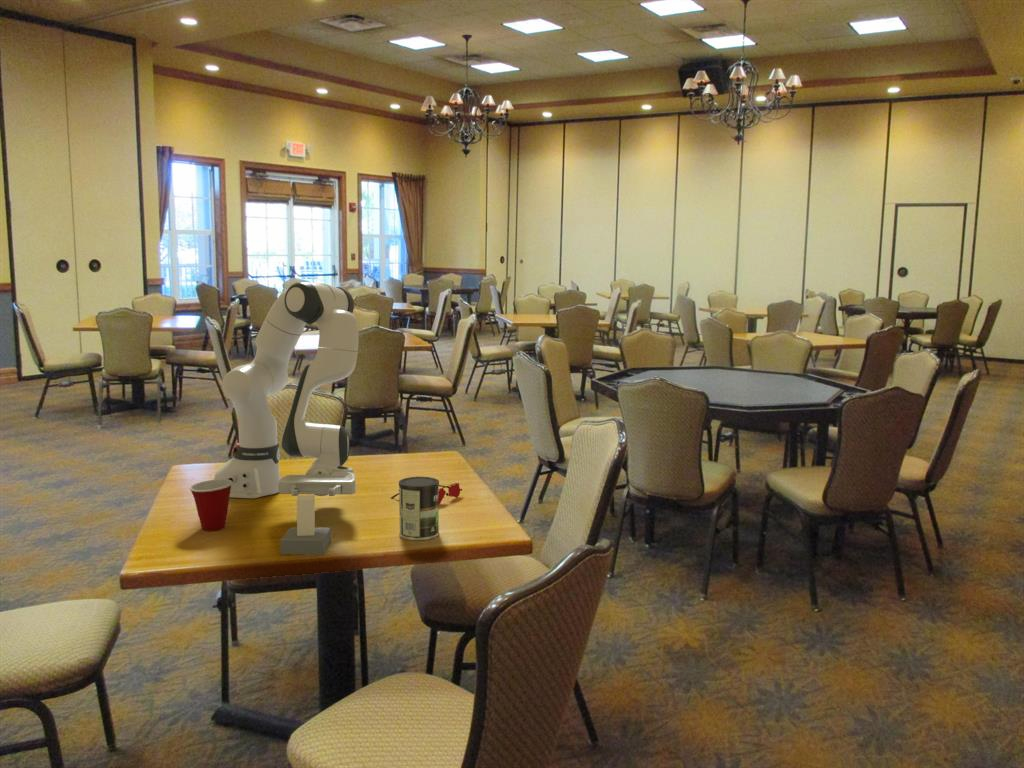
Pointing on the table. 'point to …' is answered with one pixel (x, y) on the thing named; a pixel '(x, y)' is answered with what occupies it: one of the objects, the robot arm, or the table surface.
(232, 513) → the table surface
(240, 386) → the robot arm
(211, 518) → the plastic cup
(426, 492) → the coffee can
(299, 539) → the gray square block
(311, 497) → the cream block
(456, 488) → the glasses
